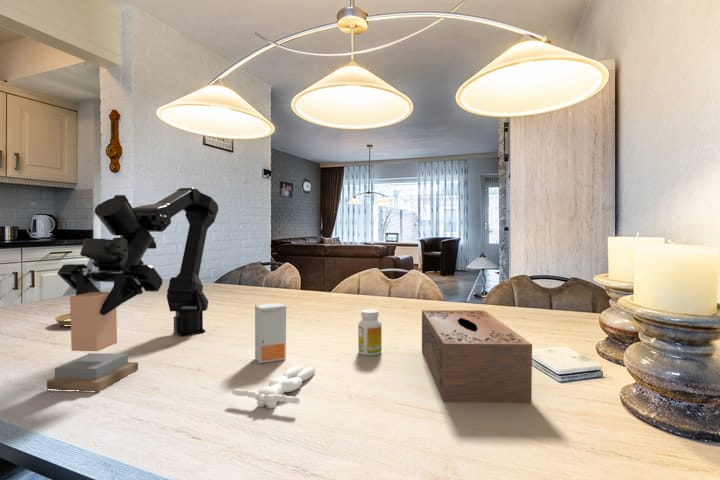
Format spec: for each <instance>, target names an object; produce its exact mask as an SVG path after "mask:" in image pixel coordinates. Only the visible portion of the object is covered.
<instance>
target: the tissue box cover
mask: <svg viewBox="0 0 720 480" xmlns="http://www.w3.org/2000/svg"><path fill="white" fill-rule="evenodd" d="M421 354H422V355H423V358H424V359H425V360H424V361H425V362H426V364H427V367H428V369H429V372H430V374H431V376H432V379H433V381H434V384H435V386H436V389H437V390H438V393H439V395H440V398H441V400H442V402H443V403H477V404H478V403H479V404H481V403H487V404H488V403H489V404H490V403H491V404H493V403H495V404H498V403H499V404H505V403H506V404H532V402H533V401H532V398H533V397H532V394H533V393H532V390H533V389H532V388H533V387H532V385H533V383H532V382H533V374H532V373H533V344H532V343H531V342H530V341H528V340H527V339H525V338H524V337H523V336H521V335H520V334H518V333H517V332H516V331H514V330H513V329H511V328H510V327H508V326H506V324H504V323H503V322H501V321H500V320H498V319H497V318H496V317H494V316H493V315H492V314H490V313H489V312H488V311H486V310H483V309H482V310H477V309H476V310H474V309H473V310H472V309H471V310H466V309H464V310H463V309H462V310H458V309H452V310H450V309H444V310H443V309H440V310H437V309H436V310H435V309H433V310H432V309H423V310H421Z"/></svg>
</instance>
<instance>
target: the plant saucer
mask: <svg viewBox="0 0 720 480" xmlns="http://www.w3.org/2000/svg"><path fill="white" fill-rule="evenodd" d="M67 319H71V314H70V313H66V314H62V315H58V316H57V317H55V318H54V320H55V321H56V323H59V324H60V325H61V324H63V325H71V321H64V320H67ZM63 325H62V326H63Z"/></svg>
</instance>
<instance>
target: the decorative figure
mask: <svg viewBox="0 0 720 480" xmlns="http://www.w3.org/2000/svg"><path fill="white" fill-rule="evenodd" d="M315 372H316V368H315V367H314V366H308V367H305V368H304V367H303V365H295V366H291V367H289V368H288V369H286V371H284V373H283V375H279V376H276V377H272V378H270V380H269V381H268V386H263V387H261V388H259V389H258V390H257V391H254V390H249V389H240V388H239V389H238V388H235V389H233V390H232V391H231V393H232V394H233V395H235V396H239V397H248V398H252V399H253V398H254V399H255V400H256V405H257V407H259V408H264V407H265V406H266V407H267V408H268V409H269V410H270V409H274V408H275V407H276V406H277V403H278V402H284V403H288V404H295V405H298V404H300V401H301V400H300V397H299V396H291V395H286V394H284V393H289V392H294V391H296V390H298V389H299V388H300V387H301V385H302V383H303V382H304V381H306V380H309V379H310V378H312V376H313V375H314V374H315Z"/></svg>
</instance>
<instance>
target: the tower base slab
mask: <svg viewBox="0 0 720 480" xmlns="http://www.w3.org/2000/svg"><path fill="white" fill-rule="evenodd" d="M137 370H138V371H139V362H134V361H128V364H127V365H125V366H123V367H121V368H119V369H117V370H115V371H113V372H111V373H109V374H107V375H105V376H103V377H102V378H100V379H98V380H81V379H55V376H54V377H53V378H50V379H47V380H46V390H47V389H54V390H55V389H56V390H57V389H58V390H75V391H76V390H79V391H95V392H100V391H102V390H104V389H106V388H107V387H109V386H111V385H113V384H114V383H116V382H118V381H120V380H121V379H123V378H125V377H127V376H128V375H130V374H132V373H134V372H136V371H137ZM136 373H137V372H136ZM134 374H135V373H134ZM127 378H128V377H127ZM125 379H126V378H125ZM120 382H121V381H120ZM118 383H119V382H118ZM116 384H117V383H116ZM113 386H114V385H113ZM111 387H112V386H111ZM109 388H110V387H109ZM107 389H108V388H107ZM107 389H106V390H107ZM104 391H105V390H104ZM102 392H103V391H102ZM100 393H101V392H100Z"/></svg>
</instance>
